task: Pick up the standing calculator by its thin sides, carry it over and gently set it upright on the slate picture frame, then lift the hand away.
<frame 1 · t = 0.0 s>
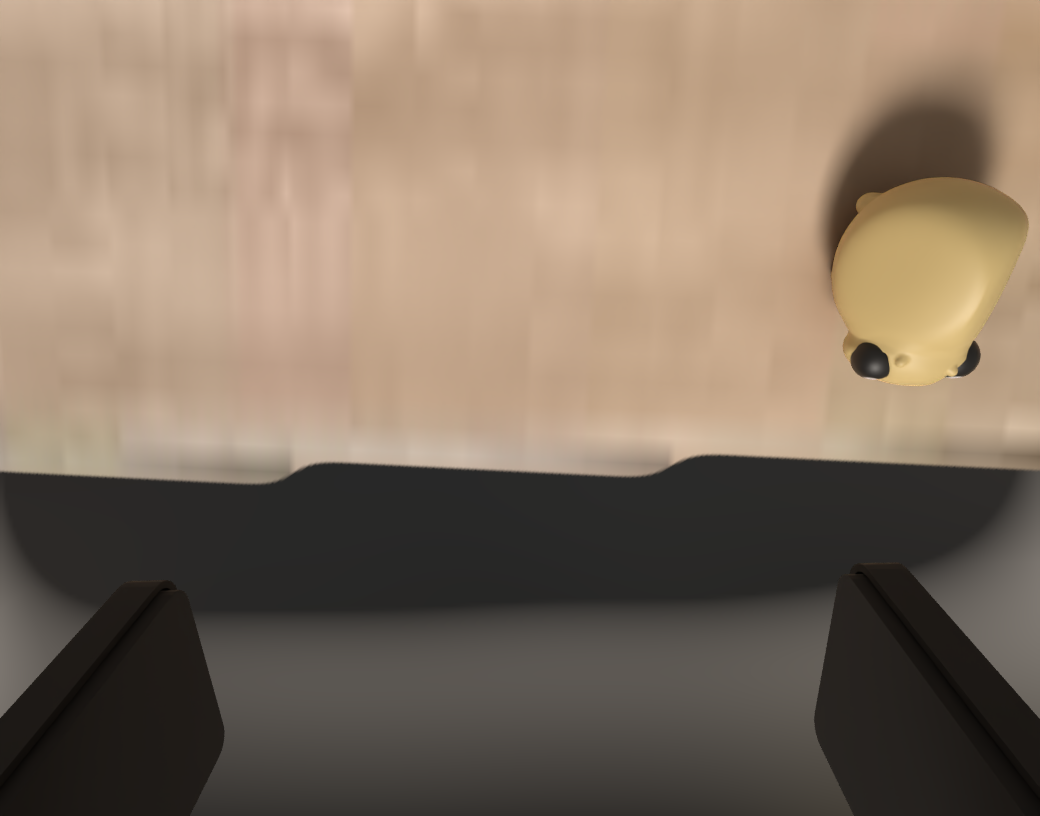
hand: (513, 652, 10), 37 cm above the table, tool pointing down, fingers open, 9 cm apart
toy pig: (876, 266, 45), on the table
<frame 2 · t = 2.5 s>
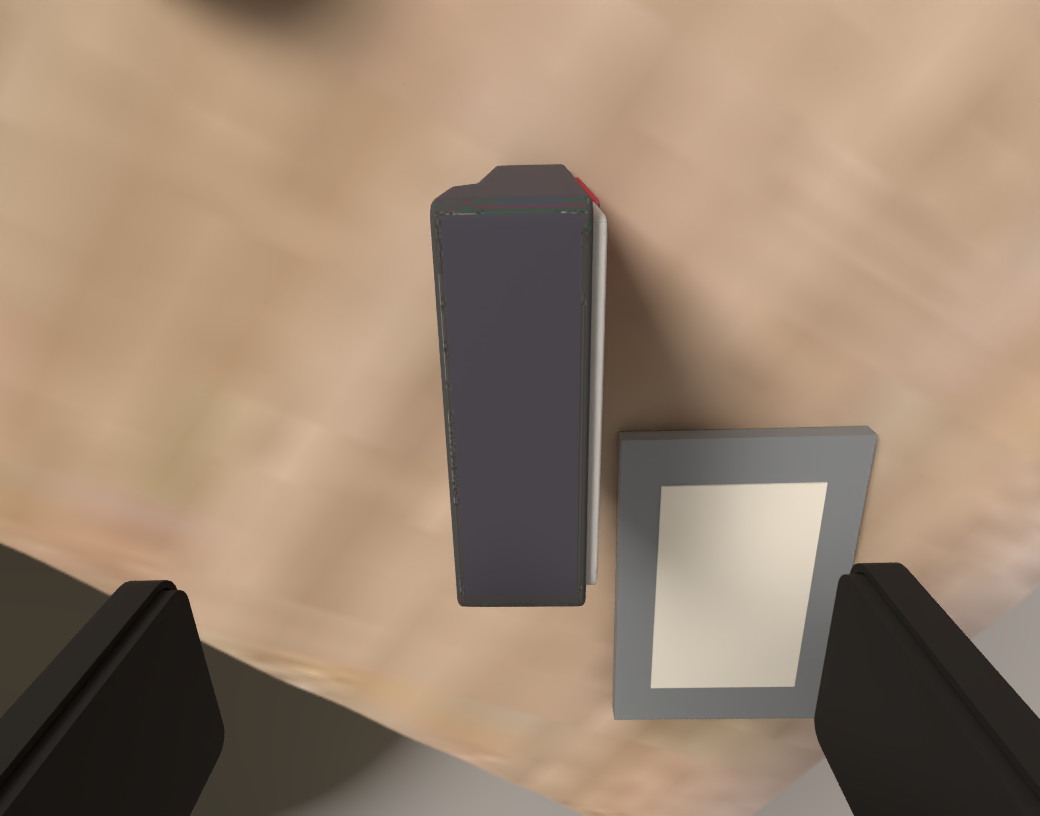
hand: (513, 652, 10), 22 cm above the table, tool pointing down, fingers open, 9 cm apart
slate picture frame: (726, 580, 36), on the table
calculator: (533, 292, 30), on the table
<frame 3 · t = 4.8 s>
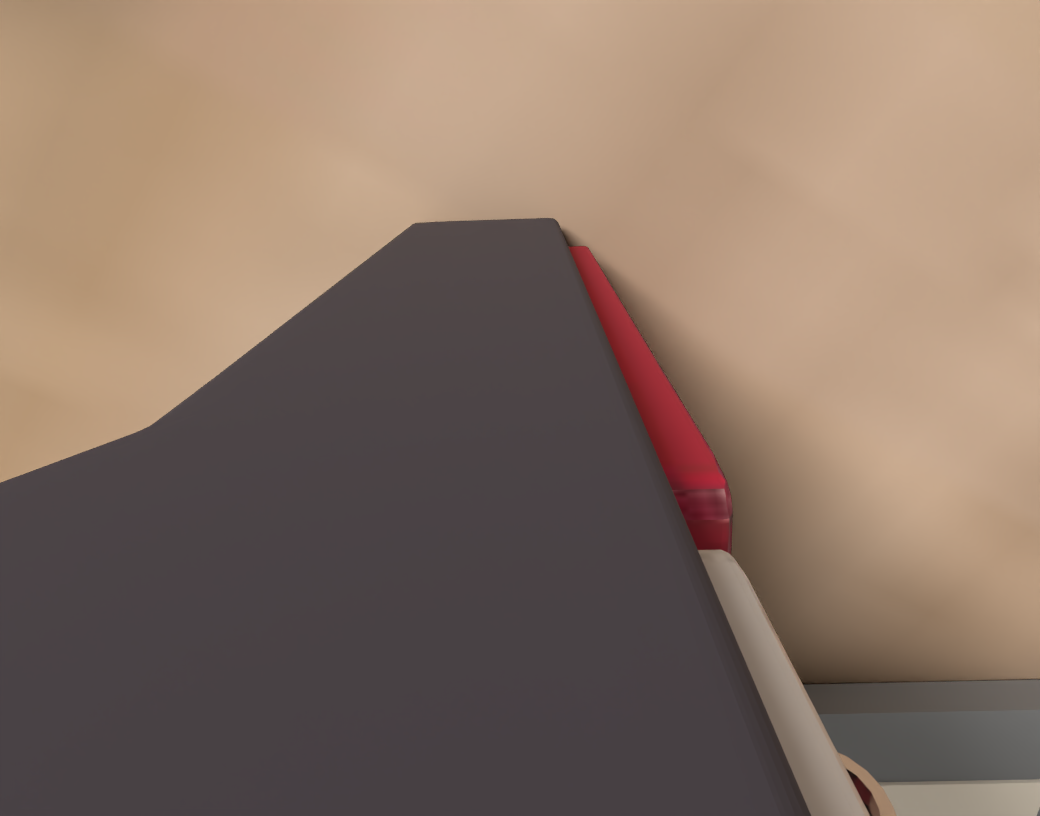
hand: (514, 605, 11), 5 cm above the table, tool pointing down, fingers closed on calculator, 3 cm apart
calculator: (501, 456, 16), on the table, touching gripper
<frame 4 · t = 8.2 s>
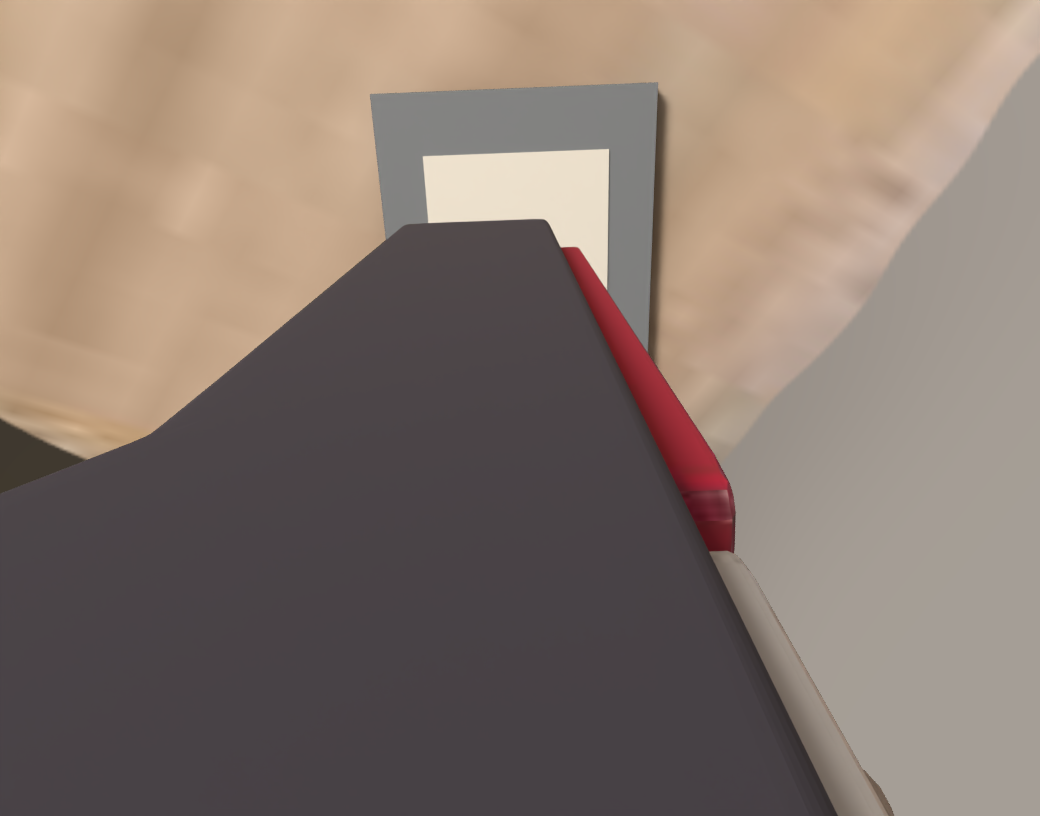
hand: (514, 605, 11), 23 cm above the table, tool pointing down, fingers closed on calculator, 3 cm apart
slate picture frame: (521, 297, 32), on the table
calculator: (493, 457, 16), point 17 cm above the table, touching gripper
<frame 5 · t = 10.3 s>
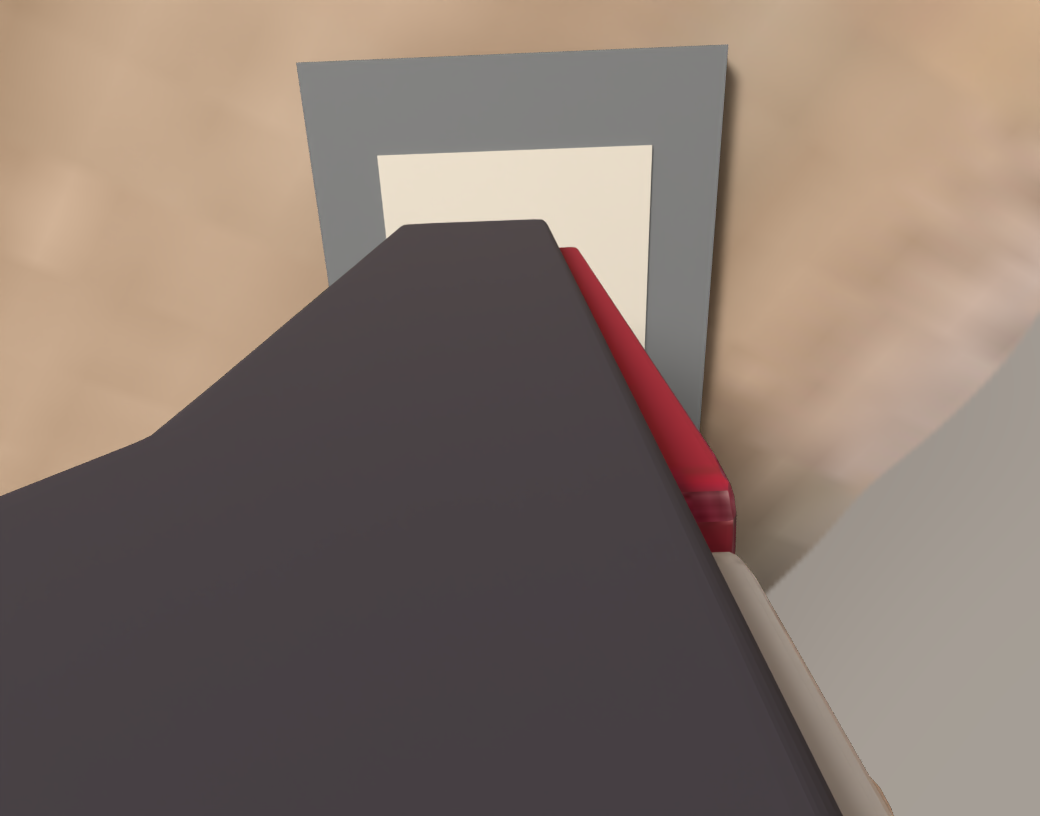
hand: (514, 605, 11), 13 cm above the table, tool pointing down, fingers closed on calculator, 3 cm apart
slate picture frame: (522, 352, 23), on the table
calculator: (492, 458, 16), point 8 cm above the table, touching gripper
when the fingers open (7 cm above the table, at t = 12.1 s): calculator moves 1 cm, resting on slate picture frame.
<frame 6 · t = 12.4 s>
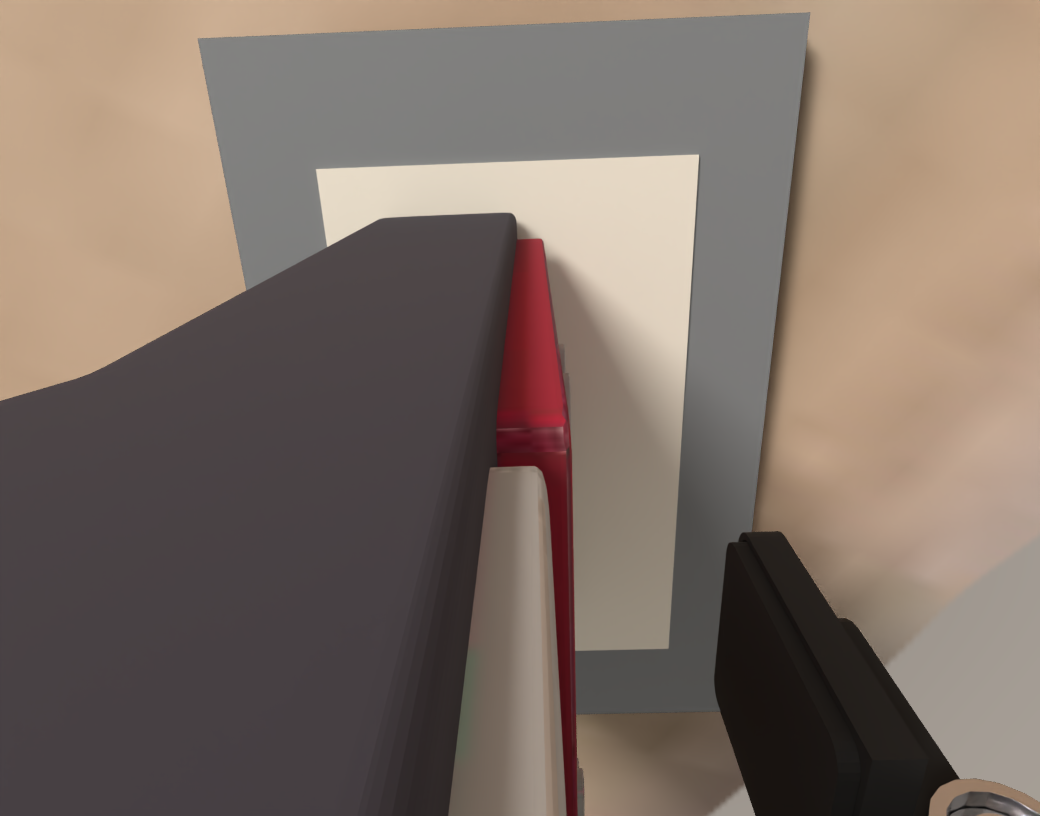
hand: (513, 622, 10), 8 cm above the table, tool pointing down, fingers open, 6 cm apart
slate picture frame: (518, 425, 17), on the table
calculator: (470, 440, 16), point 1 cm above the table, touching slate picture frame
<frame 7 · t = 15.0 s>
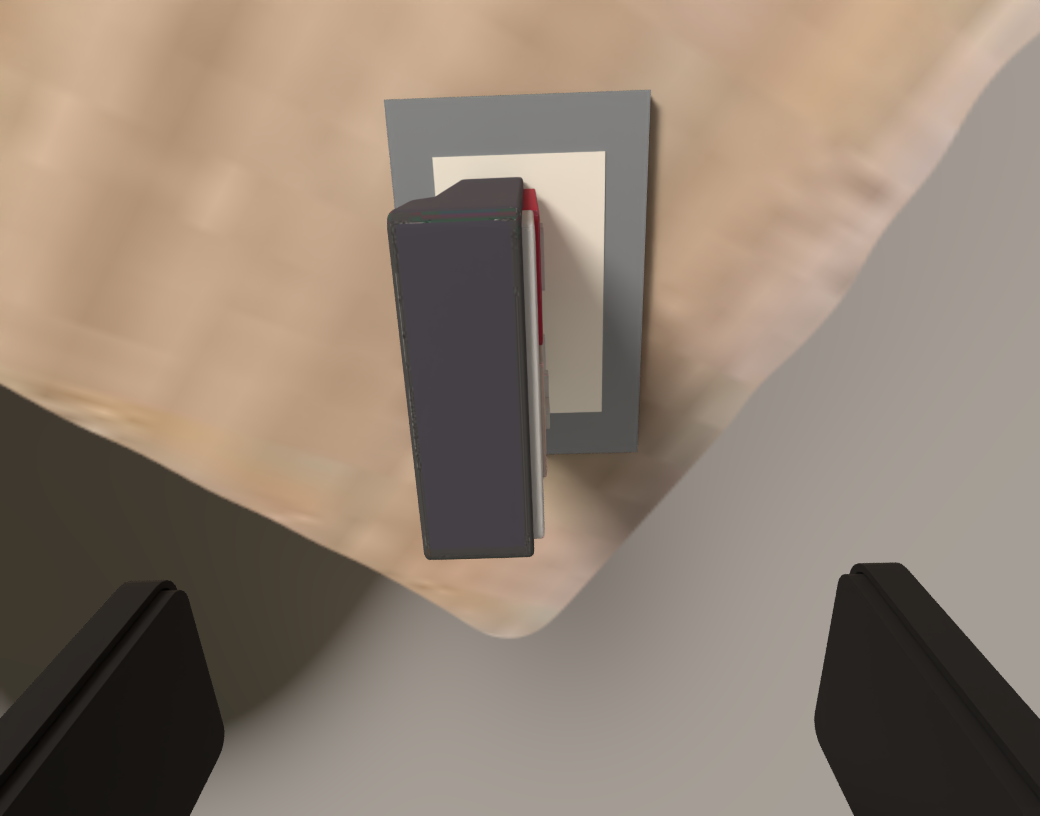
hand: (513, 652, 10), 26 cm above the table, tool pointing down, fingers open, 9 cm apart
slate picture frame: (523, 289, 34), on the table
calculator: (499, 292, 33), point 1 cm above the table, touching slate picture frame
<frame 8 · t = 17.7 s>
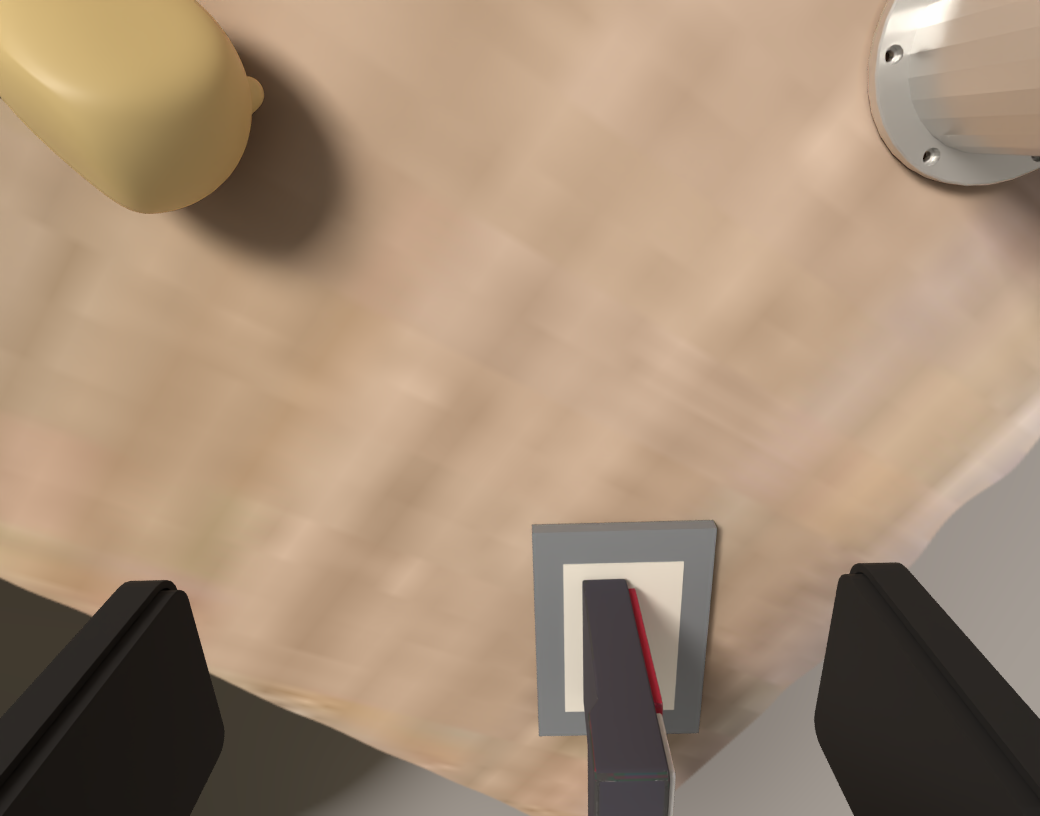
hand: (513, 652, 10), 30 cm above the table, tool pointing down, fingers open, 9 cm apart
slate picture frame: (619, 630, 47), on the table
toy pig: (171, 87, 34), on the table
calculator: (604, 638, 47), point 1 cm above the table, touching slate picture frame
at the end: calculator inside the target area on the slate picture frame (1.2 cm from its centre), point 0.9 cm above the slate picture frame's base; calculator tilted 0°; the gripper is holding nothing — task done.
